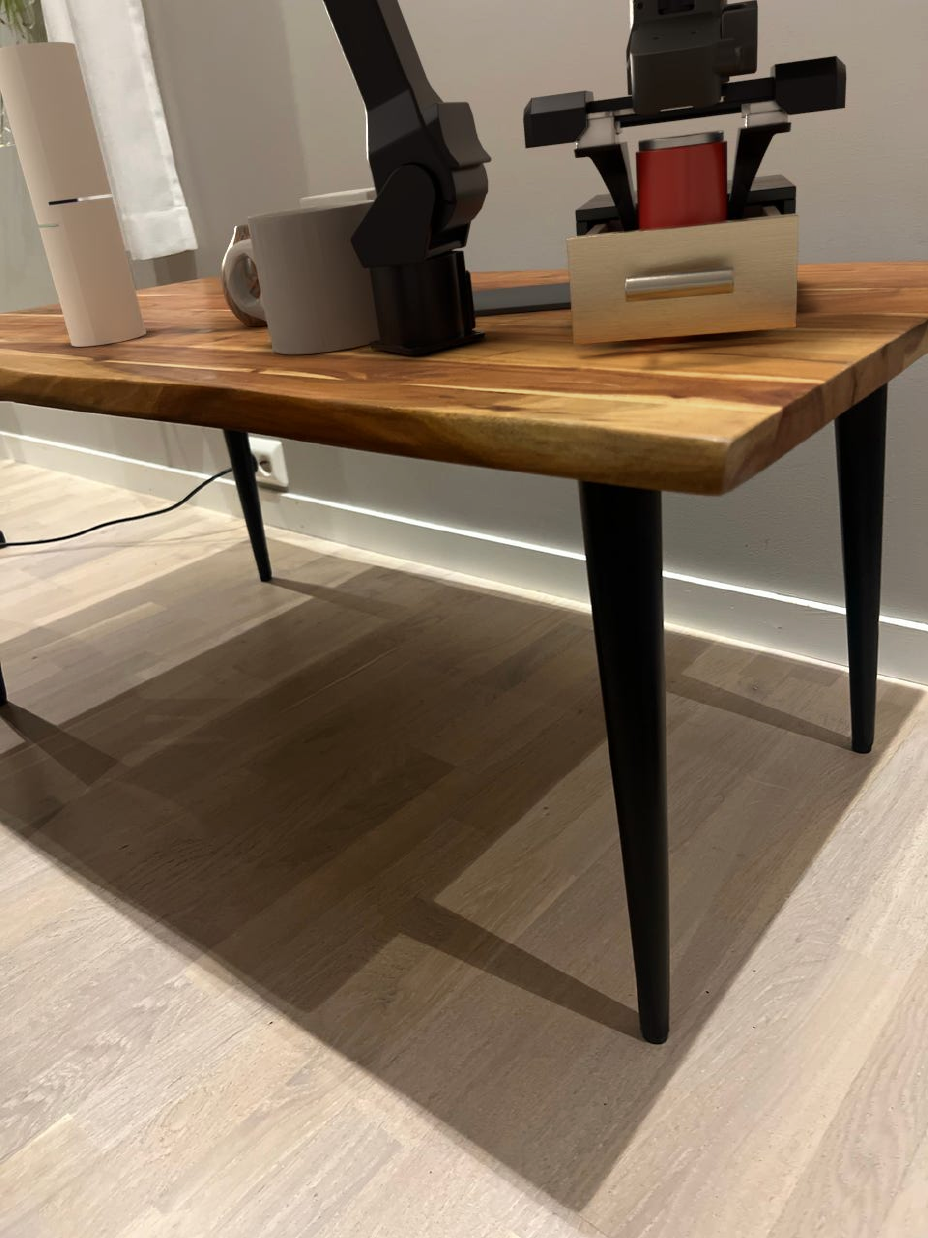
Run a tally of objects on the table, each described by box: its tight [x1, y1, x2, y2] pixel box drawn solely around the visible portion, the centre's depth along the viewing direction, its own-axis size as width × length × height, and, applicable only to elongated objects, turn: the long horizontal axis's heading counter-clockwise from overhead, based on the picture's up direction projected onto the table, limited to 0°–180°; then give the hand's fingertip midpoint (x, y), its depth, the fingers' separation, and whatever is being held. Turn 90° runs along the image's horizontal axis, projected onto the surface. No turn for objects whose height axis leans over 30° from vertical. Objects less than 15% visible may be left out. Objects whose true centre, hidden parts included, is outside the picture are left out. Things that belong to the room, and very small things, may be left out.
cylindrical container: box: [0, 41, 147, 348], centre depth 92 cm, size 7×7×25 cm
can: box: [634, 129, 728, 230], centre depth 64 cm, size 6×6×10 cm
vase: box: [220, 223, 268, 327], centre depth 93 cm, size 7×7×9 cm
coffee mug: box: [224, 200, 380, 355], centre depth 79 cm, size 13×10×10 cm
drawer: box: [566, 202, 800, 345], centre depth 64 cm, size 18×13×6 cm
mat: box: [472, 281, 571, 317], centre depth 88 cm, size 12×12×1 cm
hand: (682, 253), depth 65 cm, fingers closed on can, 5 cm apart
